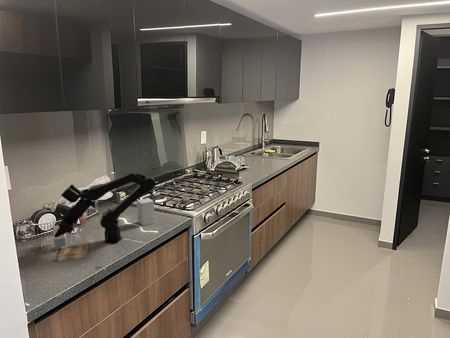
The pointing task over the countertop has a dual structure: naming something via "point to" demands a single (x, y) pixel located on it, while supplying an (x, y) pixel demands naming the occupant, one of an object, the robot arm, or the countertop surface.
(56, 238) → the plain gray box
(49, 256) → the countertop surface
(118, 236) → the robot arm
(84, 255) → the wooden tray
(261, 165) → the countertop surface
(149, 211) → the supplement box
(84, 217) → the decorative fruit
